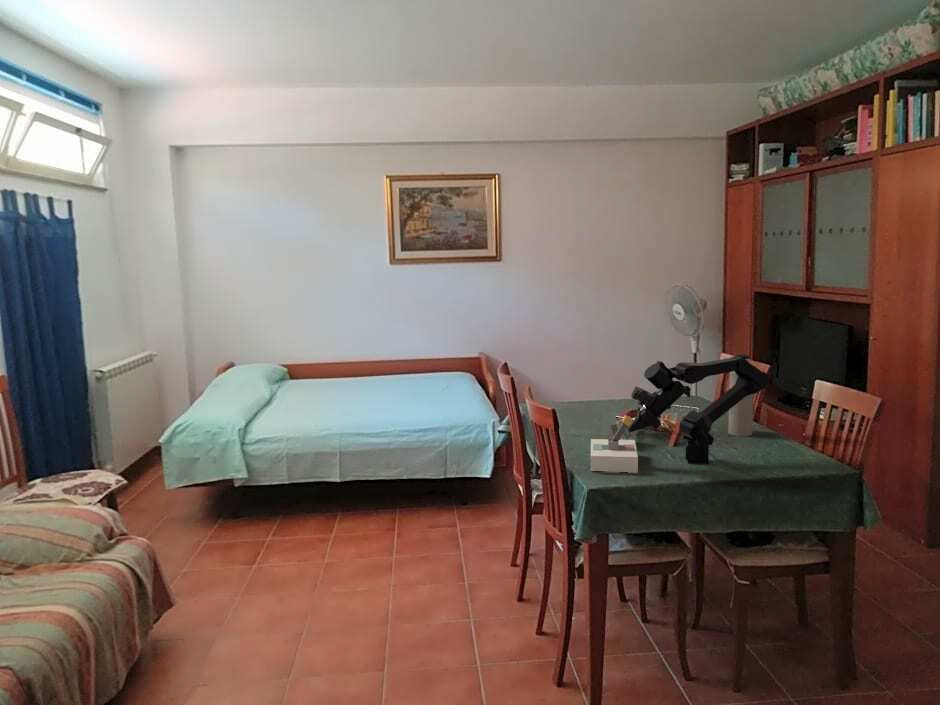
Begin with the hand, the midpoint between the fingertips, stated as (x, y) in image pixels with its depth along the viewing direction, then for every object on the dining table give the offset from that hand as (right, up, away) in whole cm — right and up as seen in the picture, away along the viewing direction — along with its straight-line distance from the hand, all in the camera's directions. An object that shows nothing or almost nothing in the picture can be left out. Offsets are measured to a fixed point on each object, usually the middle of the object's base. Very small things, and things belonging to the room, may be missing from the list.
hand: (629, 431), depth 222 cm
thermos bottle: (+46, -4, +31) cm, 56 cm away
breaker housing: (-4, -10, +3) cm, 12 cm away
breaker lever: (-5, -4, +2) cm, 6 cm away
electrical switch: (+3, -7, +21) cm, 23 cm away
